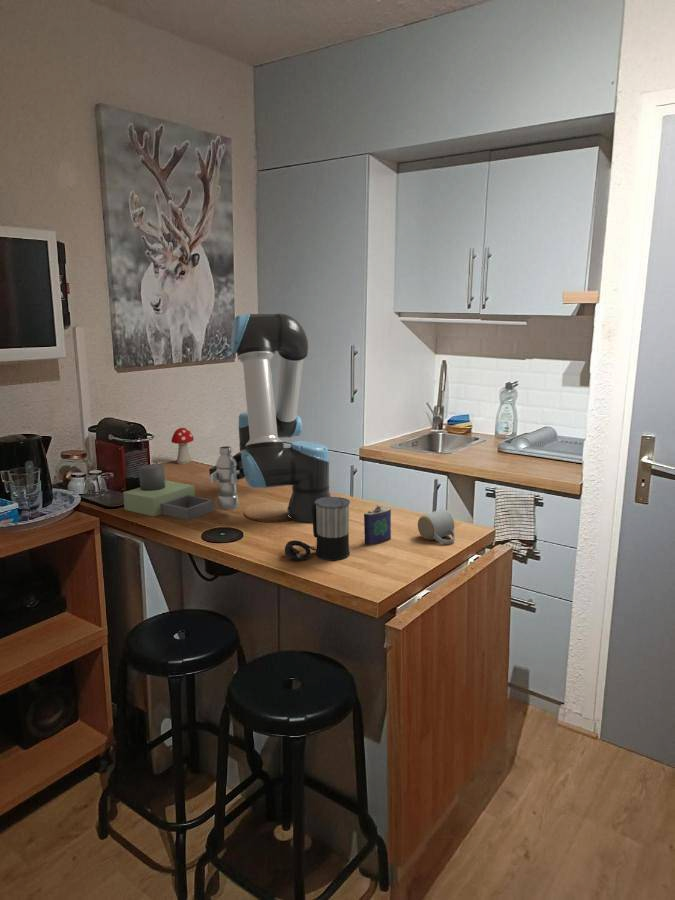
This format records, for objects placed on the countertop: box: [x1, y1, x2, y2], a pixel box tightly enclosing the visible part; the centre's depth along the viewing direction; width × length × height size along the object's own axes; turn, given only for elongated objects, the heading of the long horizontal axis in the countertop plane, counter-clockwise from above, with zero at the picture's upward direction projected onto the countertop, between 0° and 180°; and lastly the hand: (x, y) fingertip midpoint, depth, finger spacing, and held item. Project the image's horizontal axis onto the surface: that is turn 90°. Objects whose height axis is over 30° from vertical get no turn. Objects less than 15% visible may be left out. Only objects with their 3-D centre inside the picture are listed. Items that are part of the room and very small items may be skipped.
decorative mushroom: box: [171, 427, 194, 465], centre depth 285 cm, size 10×9×15 cm
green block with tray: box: [122, 463, 216, 521], centre depth 220 cm, size 26×18×13 cm
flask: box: [363, 504, 392, 546], centre depth 188 cm, size 9×3×11 cm, turn 128°
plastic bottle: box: [215, 445, 239, 511], centre depth 211 cm, size 6×7×20 cm
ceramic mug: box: [417, 508, 456, 545], centre depth 190 cm, size 11×8×8 cm
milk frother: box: [284, 496, 351, 561], centre depth 177 cm, size 14×16×15 cm
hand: (222, 479), depth 206 cm, fingers closed on plastic bottle, 6 cm apart
